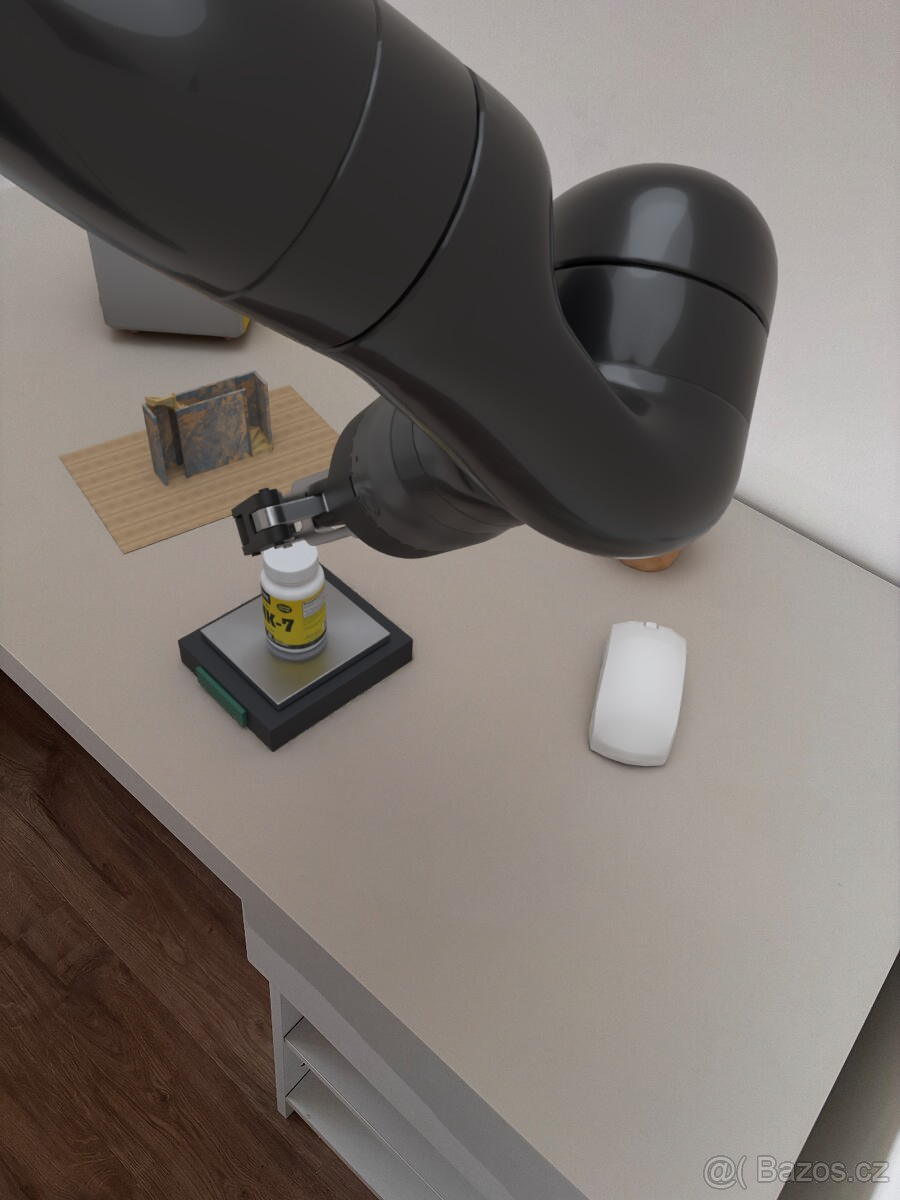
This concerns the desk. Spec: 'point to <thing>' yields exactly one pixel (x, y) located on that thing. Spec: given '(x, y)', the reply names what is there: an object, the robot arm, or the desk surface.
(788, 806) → the desk surface
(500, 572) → the desk surface
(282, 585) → the supplement bottle
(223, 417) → the ruin model on sheet
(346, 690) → the scale
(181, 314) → the alarm clock
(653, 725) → the computer mouse
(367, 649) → the scale pan
